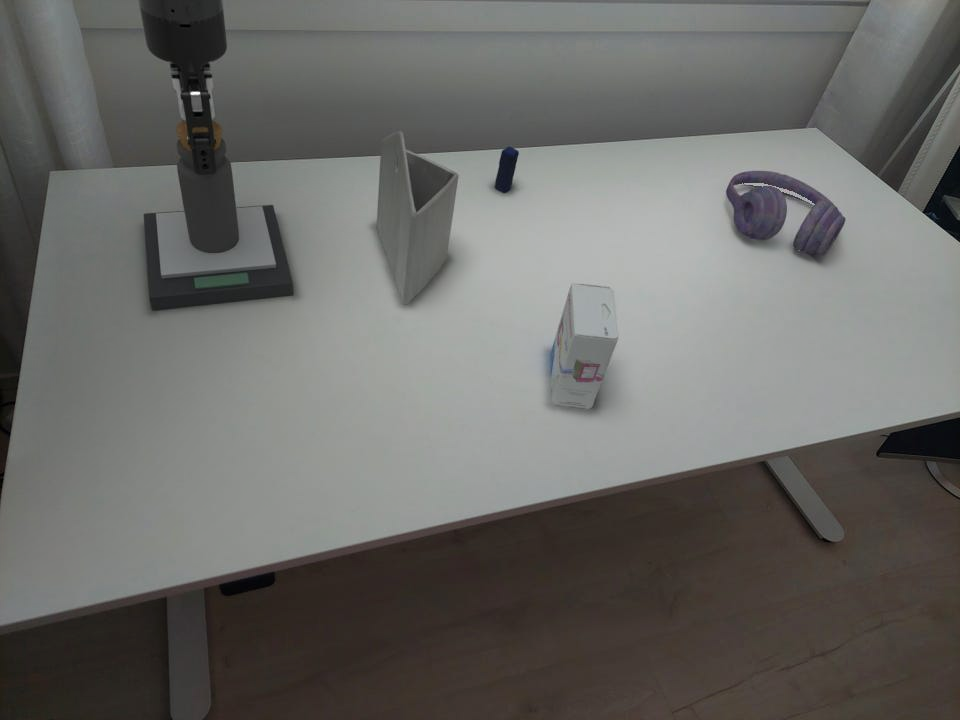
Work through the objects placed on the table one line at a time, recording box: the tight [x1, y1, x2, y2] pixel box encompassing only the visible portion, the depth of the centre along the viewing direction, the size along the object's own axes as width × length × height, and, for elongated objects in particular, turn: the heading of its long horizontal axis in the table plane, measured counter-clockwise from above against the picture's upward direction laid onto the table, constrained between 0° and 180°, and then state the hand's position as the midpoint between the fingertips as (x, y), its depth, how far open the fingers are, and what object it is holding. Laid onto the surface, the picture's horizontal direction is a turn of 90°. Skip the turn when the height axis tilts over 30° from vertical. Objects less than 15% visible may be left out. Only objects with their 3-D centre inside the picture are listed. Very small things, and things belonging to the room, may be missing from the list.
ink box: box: [549, 282, 619, 410], centre depth 81 cm, size 9×5×12 cm, turn 178°
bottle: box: [175, 120, 239, 253], centre depth 83 cm, size 6×6×15 cm
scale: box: [143, 204, 294, 312], centre depth 89 cm, size 16×16×3 cm
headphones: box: [725, 170, 846, 256], centre depth 115 cm, size 18×8×20 cm
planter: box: [375, 130, 460, 306], centre depth 89 cm, size 16×8×19 cm, turn 18°
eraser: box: [494, 146, 520, 194], centre depth 109 cm, size 2×2×7 cm
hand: (202, 151), depth 80 cm, fingers open, 8 cm apart
